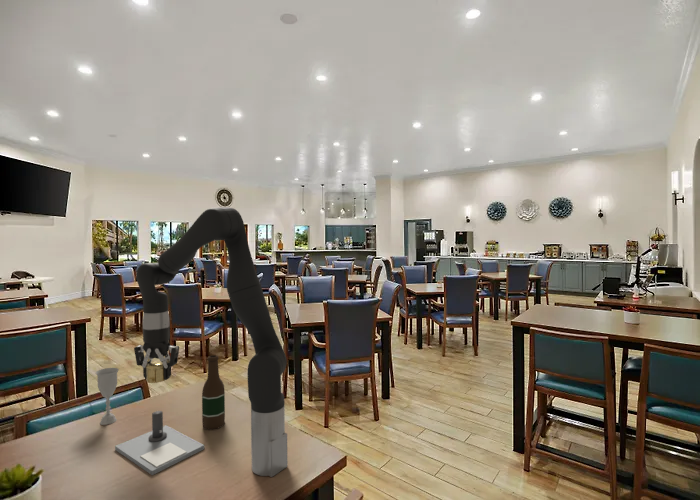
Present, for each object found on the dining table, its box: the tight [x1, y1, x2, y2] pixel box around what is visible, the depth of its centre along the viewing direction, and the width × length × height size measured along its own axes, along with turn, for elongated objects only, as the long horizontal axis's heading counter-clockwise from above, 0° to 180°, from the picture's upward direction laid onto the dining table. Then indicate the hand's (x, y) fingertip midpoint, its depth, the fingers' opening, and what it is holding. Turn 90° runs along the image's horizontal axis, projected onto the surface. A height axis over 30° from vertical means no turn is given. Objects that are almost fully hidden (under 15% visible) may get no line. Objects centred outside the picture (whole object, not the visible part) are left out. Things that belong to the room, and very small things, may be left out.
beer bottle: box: [201, 354, 226, 431], centre depth 131 cm, size 8×8×24 cm
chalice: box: [95, 367, 119, 426], centre depth 134 cm, size 7×7×18 cm
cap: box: [145, 360, 166, 384], centre depth 120 cm, size 7×6×5 cm
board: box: [114, 410, 205, 476], centre depth 116 cm, size 22×16×9 cm
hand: (157, 378), depth 120 cm, fingers closed on cap, 5 cm apart
